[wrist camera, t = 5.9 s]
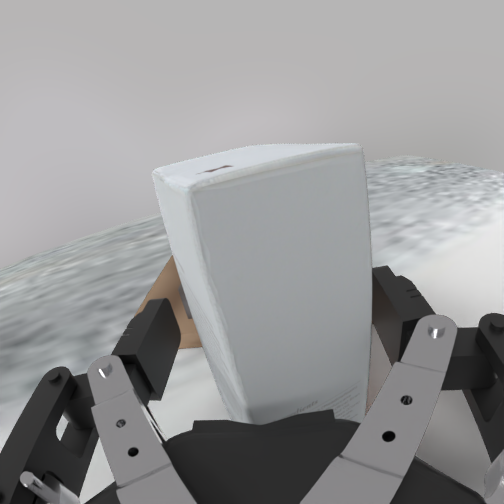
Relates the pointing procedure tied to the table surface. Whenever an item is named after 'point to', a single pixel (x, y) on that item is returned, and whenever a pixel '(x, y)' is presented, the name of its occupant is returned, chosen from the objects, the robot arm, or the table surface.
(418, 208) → the table surface
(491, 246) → the table surface
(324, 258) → the skincare box
